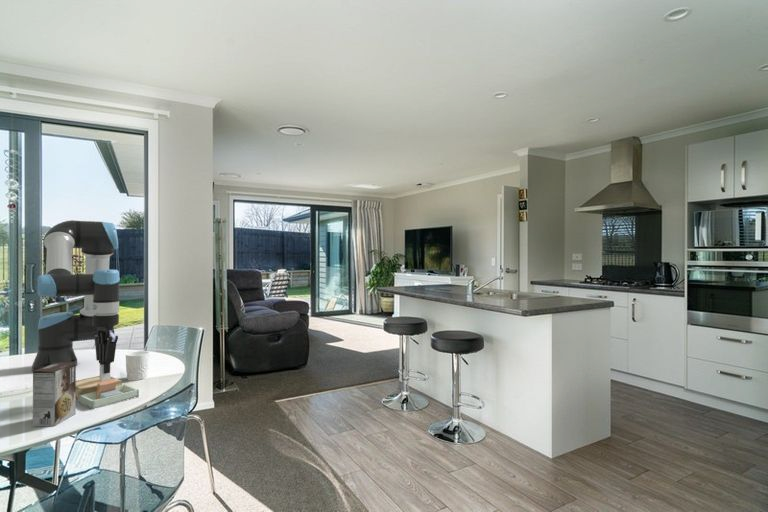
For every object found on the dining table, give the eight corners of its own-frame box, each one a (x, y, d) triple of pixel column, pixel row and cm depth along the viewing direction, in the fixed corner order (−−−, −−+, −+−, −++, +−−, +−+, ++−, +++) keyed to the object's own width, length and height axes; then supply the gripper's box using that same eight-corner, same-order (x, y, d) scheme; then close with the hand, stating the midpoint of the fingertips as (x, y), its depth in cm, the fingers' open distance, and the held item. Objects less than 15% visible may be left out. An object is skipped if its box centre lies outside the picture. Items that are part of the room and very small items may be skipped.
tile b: (106, 396, 133) (106, 402, 133) (122, 392, 137) (122, 398, 137) (99, 393, 136) (99, 399, 136) (115, 389, 140) (115, 395, 140)
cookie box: (54, 414, 124) (55, 362, 124) (76, 414, 125) (77, 362, 125) (30, 426, 115) (31, 370, 115) (54, 426, 116) (55, 370, 116)
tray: (79, 402, 134) (79, 395, 134) (124, 391, 146) (125, 384, 146) (92, 409, 129) (92, 401, 129) (138, 396, 140) (138, 389, 140)
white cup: (137, 382, 156) (137, 356, 156) (120, 380, 158) (120, 355, 158) (152, 376, 164) (153, 351, 164) (136, 374, 166) (136, 350, 166)
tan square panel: (67, 393, 142) (67, 382, 142) (105, 385, 152) (105, 374, 152) (82, 401, 135) (83, 389, 135) (121, 391, 145) (122, 380, 145)
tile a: (97, 382, 137) (100, 385, 136) (114, 379, 141) (116, 381, 140) (95, 396, 137) (98, 398, 136) (111, 392, 142) (114, 394, 141)
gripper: (85, 313, 140) (84, 381, 140) (102, 317, 133) (101, 388, 133) (109, 311, 146) (108, 376, 146) (126, 314, 139) (125, 382, 139)
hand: (104, 382), depth 139 cm, fingers closed
